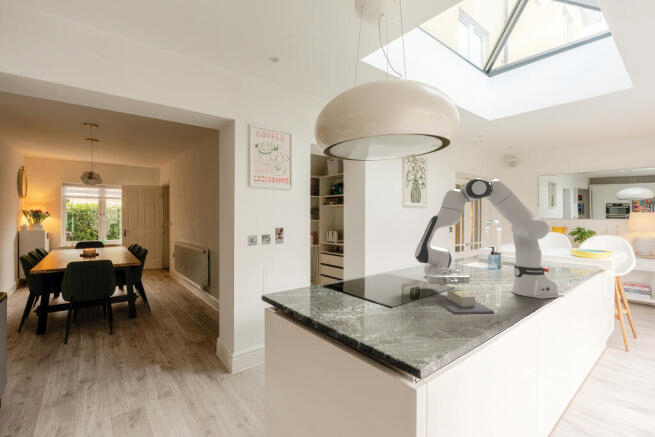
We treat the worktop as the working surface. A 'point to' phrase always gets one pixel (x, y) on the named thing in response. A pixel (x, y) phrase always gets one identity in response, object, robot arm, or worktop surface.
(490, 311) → the mat
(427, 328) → the worktop surface
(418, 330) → the worktop surface
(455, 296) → the skincare box
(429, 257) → the robot arm
